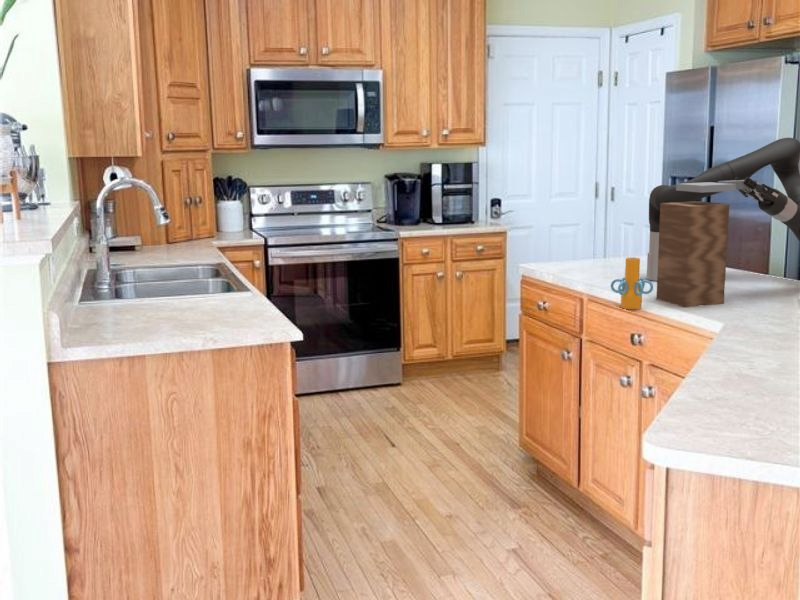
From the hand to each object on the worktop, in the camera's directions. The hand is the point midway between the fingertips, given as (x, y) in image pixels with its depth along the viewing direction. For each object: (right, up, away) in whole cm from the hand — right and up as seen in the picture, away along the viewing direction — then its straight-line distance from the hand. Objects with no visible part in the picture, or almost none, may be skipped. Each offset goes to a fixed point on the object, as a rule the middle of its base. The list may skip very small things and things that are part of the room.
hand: (740, 179), depth 248 cm
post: (-15, -37, +2) cm, 40 cm away
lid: (-7, -3, -2) cm, 8 cm away
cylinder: (-35, -39, -5) cm, 53 cm away
